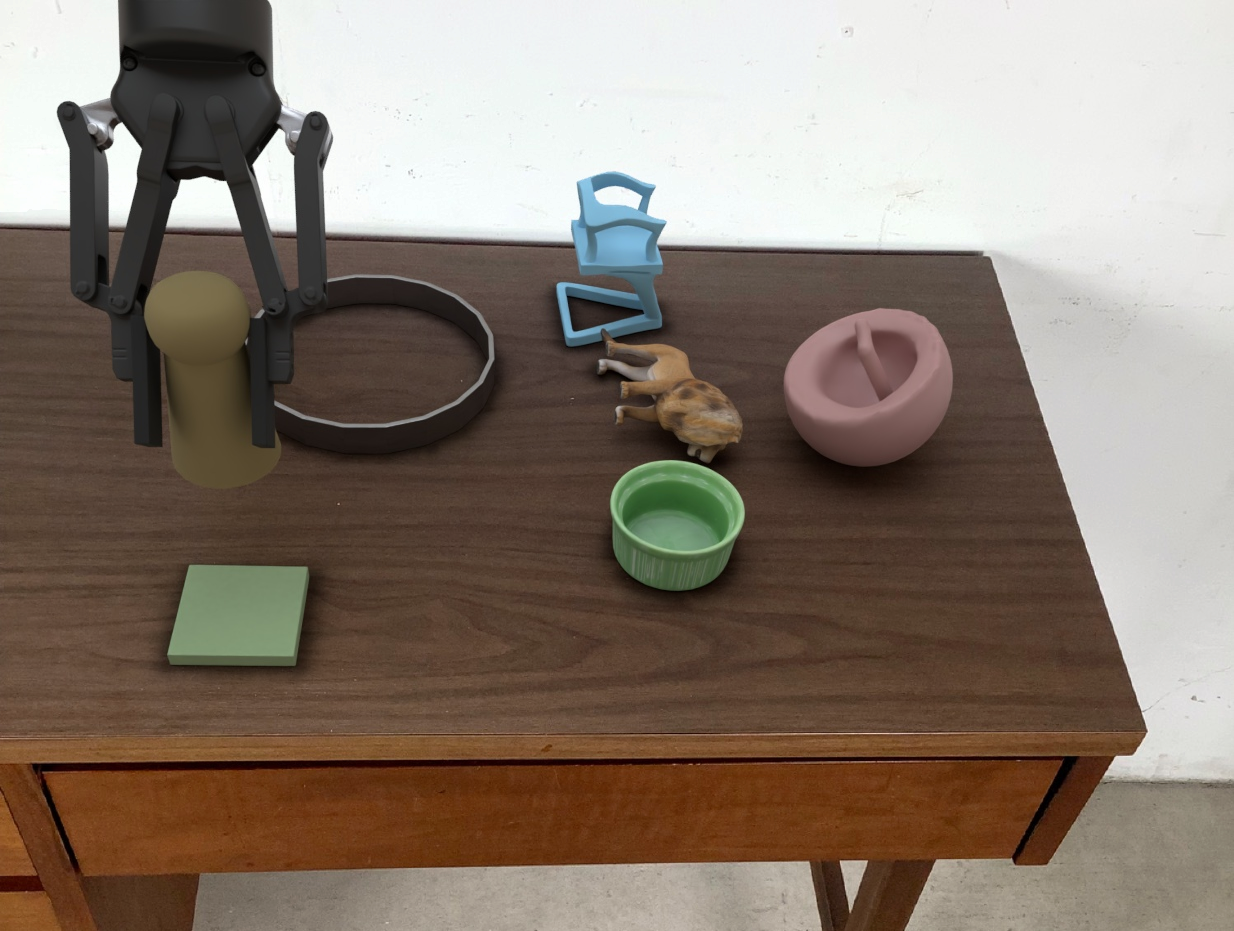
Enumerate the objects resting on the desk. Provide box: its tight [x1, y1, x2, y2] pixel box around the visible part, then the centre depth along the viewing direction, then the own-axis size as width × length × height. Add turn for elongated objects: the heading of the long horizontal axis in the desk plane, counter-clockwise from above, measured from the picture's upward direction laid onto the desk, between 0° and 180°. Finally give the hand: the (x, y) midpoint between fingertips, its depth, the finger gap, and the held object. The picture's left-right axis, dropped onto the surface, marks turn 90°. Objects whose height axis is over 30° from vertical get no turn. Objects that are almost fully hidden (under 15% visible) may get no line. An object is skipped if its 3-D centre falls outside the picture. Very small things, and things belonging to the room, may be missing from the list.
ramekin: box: [609, 459, 746, 592], centre depth 82 cm, size 9×9×4 cm
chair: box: [556, 170, 668, 347], centre depth 97 cm, size 8×8×12 cm
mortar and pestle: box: [782, 307, 954, 468], centre depth 89 cm, size 12×12×11 cm
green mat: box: [166, 564, 310, 667], centre depth 77 cm, size 8×8×1 cm
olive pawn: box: [144, 270, 282, 490], centre depth 65 cm, size 6×6×11 cm
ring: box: [245, 273, 495, 455], centre depth 93 cm, size 19×19×2 cm
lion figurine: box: [596, 328, 744, 464], centre depth 92 cm, size 15×5×9 cm
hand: (206, 445), depth 64 cm, fingers closed on olive pawn, 5 cm apart
